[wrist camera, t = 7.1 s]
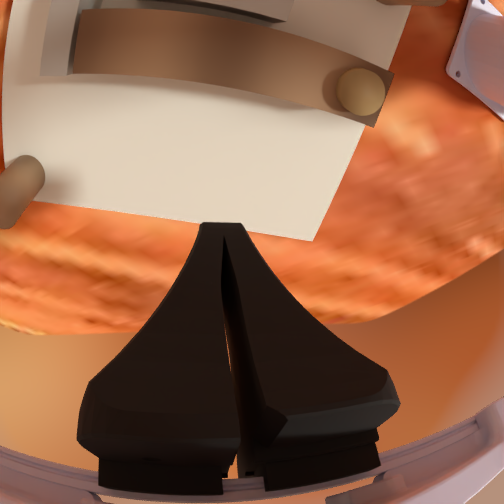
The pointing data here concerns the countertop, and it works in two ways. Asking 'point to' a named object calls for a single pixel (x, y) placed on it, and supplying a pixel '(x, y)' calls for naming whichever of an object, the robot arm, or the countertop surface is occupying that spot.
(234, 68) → the hinged leg
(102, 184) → the white block puzzle board
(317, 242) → the countertop surface
